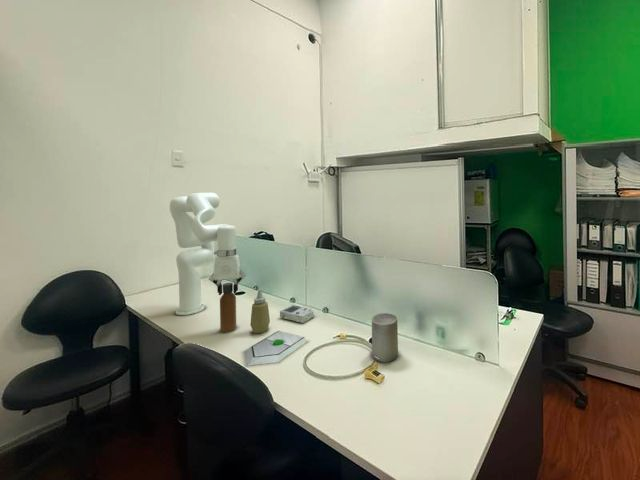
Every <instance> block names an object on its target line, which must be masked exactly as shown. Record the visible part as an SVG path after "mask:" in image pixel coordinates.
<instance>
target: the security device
mask: <svg viewBox="0 0 640 480" xmlns="http://www.w3.org/2000/svg"><path fill="white" fill-rule="evenodd" d="M306 343H307V340H306V337H305V336H302V335H298V334H293V333H290V332H286V331H281V330H277V331H275V332H274V333H272V334H270V335H269V336H267V337H265V338H264V339H262V340H260V341H258V342H256V343H255V344H253V345H252V346H250V347H249V348H248V349H246V350H245V351H244V354H245V361H246V366H254V365H265V364H272V363H273V364H274V363H279V362H280V361H282V360H283V359H285V358H286V357H288V356H289V355H290V354H292V353H293V352H294V351H296V350H297V349H300V347H301V346H303V345H304V344H306Z"/></svg>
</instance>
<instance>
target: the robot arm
mask: <svg viewBox="0 0 640 480" xmlns="http://www.w3.org/2000/svg"><path fill="white" fill-rule="evenodd" d="M220 203H221V200H220V196H219V195H218V194H217V193H215V192H211V191H210V192H193V193H190V194H188V195H185V196H184V195H183V196H181V195H180V196H176V197H173V198H172V199H171V200H170V202H169V212H170V215H171V217H172V219H173V222H174V225H175V232H176V240H177V244H178V247H179V248H181V249H188V250H184V251H181V252H179V253H178V254H177V255H176V257H175V261H176V266H177V271H178V299H179V301H178V305H179V308H177V309H176V310H175V315H178V316H188V315H193V314H197V313H199V312H202V311H203V310H205V304H204V303H202V281H201V280H202V277H201V274H200V273H199V271H198V270H197V269H196V268H199V267H205V266H209V265H212V264H213V263H214V266H213V273H212V274H211V275H210V276H209V277H208V280H209V281H210V282H212V283H213V284H214V285H216V287H217V294H218V296H222V295H223V283H222V281H226V280H228V281H229V280H232V281H233V294H234V295H236V293H237V292H238V289H239V283H240V282H241V281H242V280H243V279H244V278H245V277H246V276H247V275H246V273H245V272H244V271H243V270H242V269H241V263H240V256H239V255H238V254H237V228H236V226H235V225H229V224H227V223H219V224H209V225H203V224H206V223H208V222H209V221H211V220H212V219H214V217H215V215H216V210H215V209H217V208H218V207H219V206H220ZM189 213H192V214H193V215H194V217H192V216H191V215H190V214H189ZM214 242H217V250H215V245H214ZM196 247H201V248H196ZM189 248H190V249H189ZM191 248H193V249H191Z"/></svg>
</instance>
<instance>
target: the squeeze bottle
mask: <svg viewBox="0 0 640 480" xmlns="http://www.w3.org/2000/svg"><path fill="white" fill-rule="evenodd" d="M270 323H271V319H270V310H269V302H268V301H267V300H266V297H265V296H264V295H263V291H262V289H258V290H257V295H256V297H255V298H254V299H253V304H252V305H251V313H250V324H249V325H250V328H251V330H252V332H253V333H254V334H261V333H266V331H268V329H269V326H270Z"/></svg>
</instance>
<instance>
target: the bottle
mask: <svg viewBox="0 0 640 480" xmlns="http://www.w3.org/2000/svg"><path fill="white" fill-rule="evenodd" d="M219 319H220V320H219V327H220V328H219V329H220V330H219V331H220V333H223V334H224V333H231V332H234V331H236V329H237V296H236V294H234V292H231V293H222V294H221V295H220V298H219Z"/></svg>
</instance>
